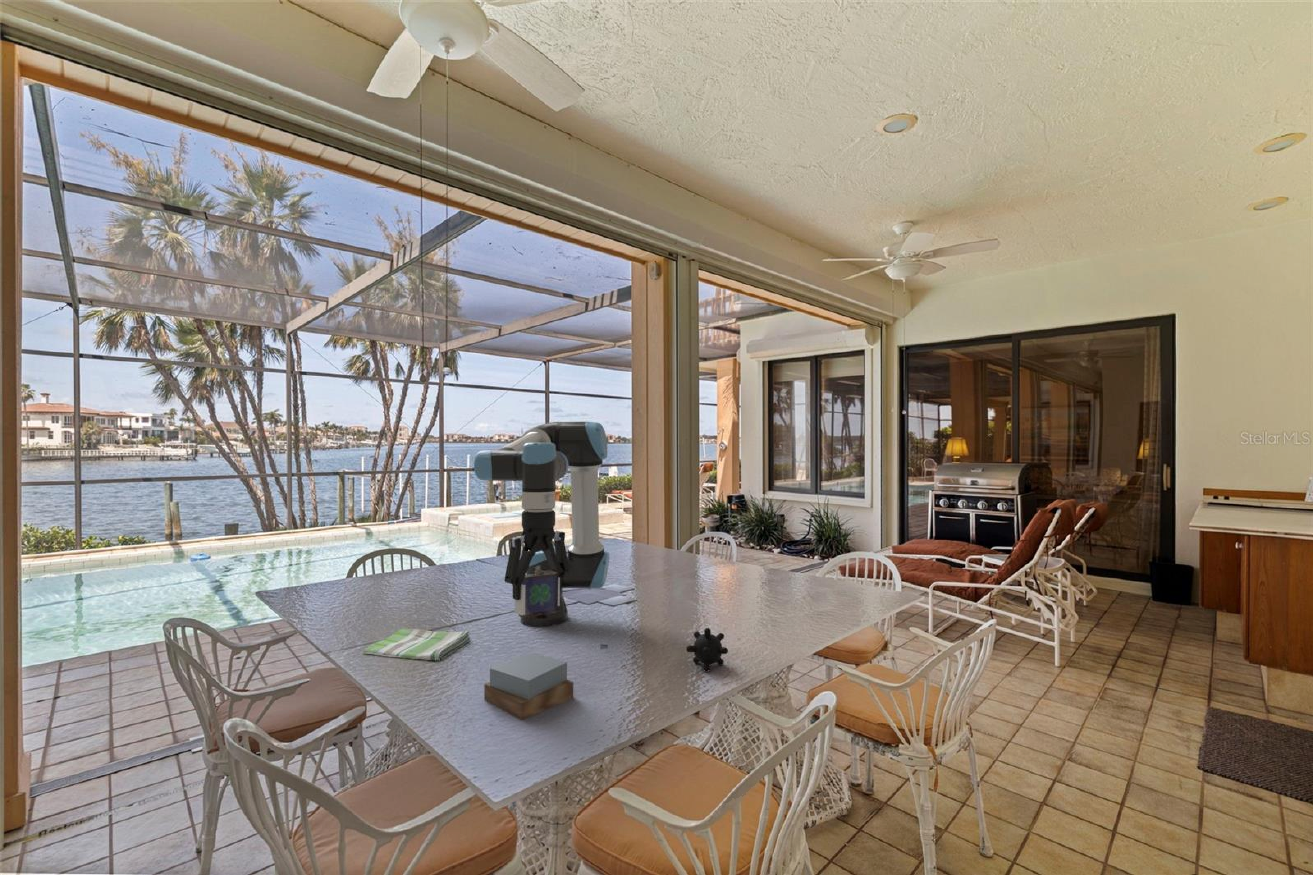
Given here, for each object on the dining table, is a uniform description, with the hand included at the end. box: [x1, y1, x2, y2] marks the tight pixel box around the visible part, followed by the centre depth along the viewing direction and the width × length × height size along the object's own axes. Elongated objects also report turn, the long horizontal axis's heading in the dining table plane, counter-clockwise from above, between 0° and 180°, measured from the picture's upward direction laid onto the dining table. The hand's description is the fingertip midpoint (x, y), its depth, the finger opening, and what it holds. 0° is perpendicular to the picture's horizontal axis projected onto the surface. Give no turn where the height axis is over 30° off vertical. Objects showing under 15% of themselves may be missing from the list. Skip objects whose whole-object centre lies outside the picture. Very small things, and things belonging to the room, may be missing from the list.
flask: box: [517, 566, 558, 618], centre depth 128 cm, size 9×3×11 cm, turn 121°
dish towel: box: [363, 628, 471, 662], centre depth 159 cm, size 17×23×4 cm
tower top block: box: [489, 651, 568, 700], centre depth 127 cm, size 12×12×4 cm
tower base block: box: [483, 678, 574, 721], centre depth 127 cm, size 14×14×4 cm
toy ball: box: [686, 627, 729, 672], centre depth 146 cm, size 11×11×12 cm
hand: (537, 609), depth 128 cm, fingers closed on flask, 9 cm apart
